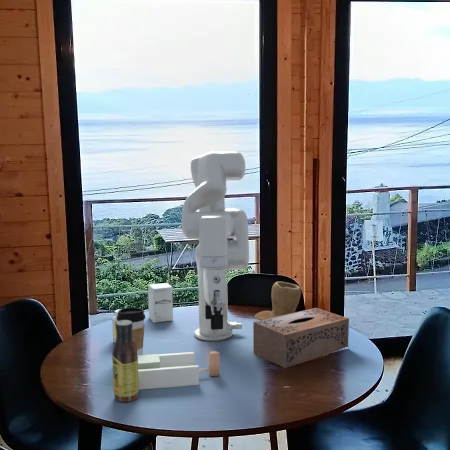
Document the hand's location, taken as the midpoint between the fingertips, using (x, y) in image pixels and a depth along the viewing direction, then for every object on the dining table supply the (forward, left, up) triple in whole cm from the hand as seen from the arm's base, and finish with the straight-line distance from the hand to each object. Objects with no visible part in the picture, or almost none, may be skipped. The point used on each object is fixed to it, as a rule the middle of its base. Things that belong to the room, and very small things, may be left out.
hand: (214, 323), depth 155 cm
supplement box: (+11, -55, -15) cm, 58 cm away
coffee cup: (+22, -18, -15) cm, 32 cm away
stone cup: (-30, -41, -15) cm, 53 cm away
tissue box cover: (-29, -14, -15) cm, 36 cm away
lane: (+14, -1, -15) cm, 20 cm away
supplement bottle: (+25, -34, -15) cm, 44 cm away
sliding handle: (+10, -1, -15) cm, 17 cm away
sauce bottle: (+24, +9, -15) cm, 30 cm away
